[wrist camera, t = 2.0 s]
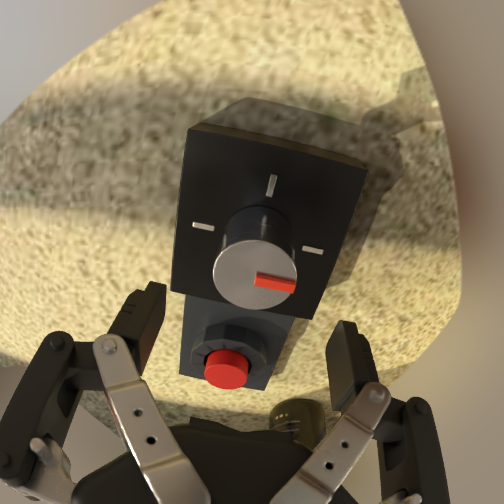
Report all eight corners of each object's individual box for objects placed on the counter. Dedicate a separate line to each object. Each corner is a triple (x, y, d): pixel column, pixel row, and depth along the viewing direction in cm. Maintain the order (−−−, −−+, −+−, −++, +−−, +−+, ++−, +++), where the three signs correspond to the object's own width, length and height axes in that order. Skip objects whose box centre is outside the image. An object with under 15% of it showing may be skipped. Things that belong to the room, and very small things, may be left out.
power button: (209, 344, 26) (206, 360, 24) (252, 353, 26) (250, 369, 24) (205, 369, 28) (202, 384, 26) (244, 377, 28) (242, 392, 26)
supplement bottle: (333, 412, 36) (340, 497, 25) (289, 428, 38) (288, 507, 28) (305, 390, 33) (308, 486, 23) (258, 408, 36) (251, 496, 25)
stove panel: (198, 122, 20) (186, 129, 17) (357, 159, 20) (370, 171, 18) (179, 269, 26) (169, 292, 23) (309, 296, 26) (312, 321, 24)
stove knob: (219, 258, 21) (206, 304, 17) (230, 198, 19) (218, 234, 15) (283, 272, 22) (284, 320, 18) (301, 214, 19) (307, 254, 15)
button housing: (190, 281, 26) (180, 308, 23) (294, 303, 27) (296, 332, 24) (182, 362, 32) (175, 387, 29) (264, 378, 32) (263, 404, 29)
